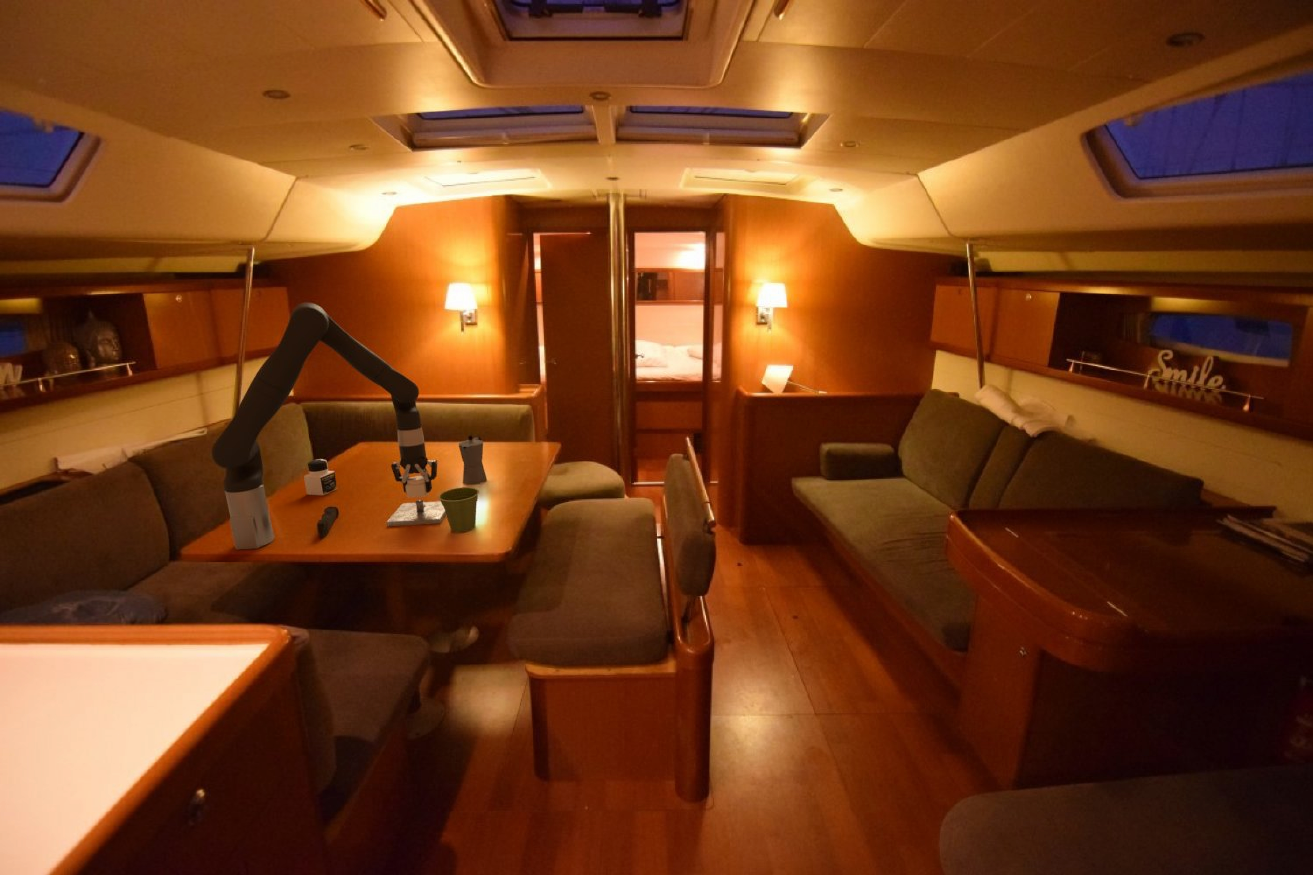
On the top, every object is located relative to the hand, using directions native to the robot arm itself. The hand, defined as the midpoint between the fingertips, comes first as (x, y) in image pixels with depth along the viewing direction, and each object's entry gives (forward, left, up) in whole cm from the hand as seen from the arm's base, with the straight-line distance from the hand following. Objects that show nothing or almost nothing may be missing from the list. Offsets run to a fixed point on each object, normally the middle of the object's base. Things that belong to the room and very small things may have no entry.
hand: (418, 492), depth 190 cm
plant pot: (-13, -16, -8) cm, 22 cm away
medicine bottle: (+29, +43, -8) cm, 53 cm away
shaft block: (0, 0, -8) cm, 8 cm away
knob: (0, 0, -1) cm, 1 cm away
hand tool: (-6, +26, -8) cm, 28 cm away
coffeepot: (+34, -11, -8) cm, 37 cm away
